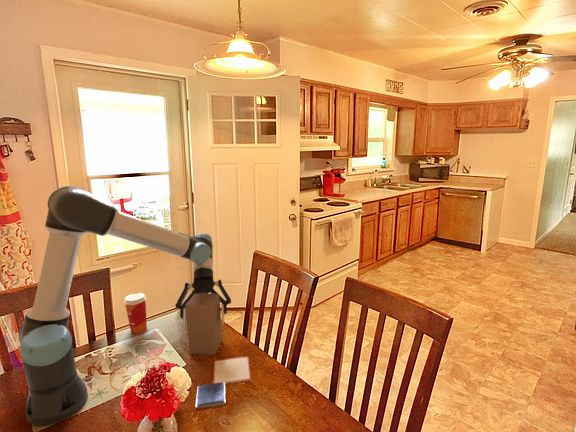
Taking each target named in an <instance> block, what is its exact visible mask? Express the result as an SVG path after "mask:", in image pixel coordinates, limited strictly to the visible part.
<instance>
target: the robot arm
mask: <svg viewBox="0 0 576 432" xmlns="http://www.w3.org/2000/svg"><path fill="white" fill-rule="evenodd" d="M47 208H48V210H47V216H46V220H45V224H44V227H45V229H47V230H48V232H49V233H48V234H49V235H48V239H47V241H46V248H45V252H44V255H43V256H44V257H43V261H42V265H41V269H40V275H39V279H38V283H37V284H38V285H37V288H36V293H35V298H34V301H33V305H32V307H30V308H28V309H27V310H26V311H25V315H24V317H23V318H24V319H23V321H22V323H21V325H20V327H19V330H18V341H19V344H20V345H19V355H20V358H21V360H22V365H23V370H24V373H25V379H26V384H27V388H28V396H27V401H26V404H25V405H26V406H25V417H26V420H27V423H29V424H30V423H31V424H30V425H32V424H33V425H32V426H35V425H36V426H37V427H41V426H49V425H53V424H57V423H59V422H61V421H64V420H66V419H68V418H70V417H71V416H72V415H74V414H75V413H77V412H78V411H79V410H80V409H81V408H82V407H83V406H84V405H85V403H86V402H87V400H88V397H89V393H88V387H87V385H86V384H85V383H84V381H83V379H82V378H81V376H80V375H79V374H78V371H77V365H76V361H75V354H74V349H73V348H74V347H73V337H72V334H71V333H70V330H69V329H68V324H69V320H70V315H71V311H70V310H69V309H68V308H67V304H68V299H69V295H70V290H71V286H72V282H73V278H74V277H73V276H74V272H75V268H76V263H77V259H78V254H79V250H80V246H81V241H82V237H83V236H84V235H87V234H88V233H90V234H94V235H98V236H100V237H101V236H102V237H105V236H107V235H110V236H112V237H116V238H119V239H122V240H126V241H128V242H132V243H135V244H139V245H142V246H146V247H148V248H152V249H155V250H157V251H161V252H163V253H167V254H171V255H173V256H177V257H180V258H182V259H186V260H189V261H192V263H193V282H192V283H188V282H185V283H184V288H183V290H182V292H181V293H180V296H179V298H178V299H177V302H176V303H175V308H176V310H180V315H179V316H180V319H183V321H182V323H183V325H182V326H183V329H187V320H186V309H185V306H186V304H187V302H188V301H189V300H190V299H191V297H192V296H193V295H194V294H196V293H204V294H219V292H217V291H216V290H215V289H214V287H215V286H216V287H217V288H219V290H220V292H221V294H222V295H223V297H224V298H225V299H224V298H223V297H222V295H220V294H219V297H220V311H221V325H224V324H225V315H226V314H228V305H231V304H232V299H231V298H230V295H229V294H228V292H227V291H226V289H225V288H224V286H223V283H222V279H218V281H217V280H216V281H214V261H213V259H214V258H213V253H214V251H213V247H214V246H213V239H212V236H211V235H210V234H208V233H198V234H196V235H194V236H192V235H189V234H185V233H183V232H182V233H181V232H180V231H175V230H171V229H167V228H165V227H163V226H160V225H158V224H154V223H152V222H149V221H146V220H144V219H141V218H138V217H136V216H133V215H131V214H127V213H125V212H123V211H119V210H118V208H117V206H115V205H112V204H110V203H107V202H106V201H104V200H102V199H100V198H99V197H97V196H95V195H93V194H92V193H91V192H89V191H87V190H85V189H83V188H82V187H78V186H76V185H75V186H73V185H66V186H61V187H59V188H57V189H55V190H54V191H53V192H52V193H51V194H50V195H49V197H48V200H47ZM192 288H193V290H192V291H191V292H190V294H189V295H188V297H187V294H188V293H189V290H191V289H192Z"/></svg>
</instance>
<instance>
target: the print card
mask: <svg viewBox="0 0 576 432" xmlns="http://www.w3.org/2000/svg"><path fill="white" fill-rule="evenodd" d="M251 375H252V374H251V368H250V361H249V355H246V356H239V357H231V358H224V359H216V360H213V379H212V380H213V381H212V384H214V383H221V382H225V385H226V384H233V383H239V382H240V383H241V382H245V381H252V376H251Z"/></svg>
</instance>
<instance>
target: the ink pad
mask: <svg viewBox="0 0 576 432" xmlns="http://www.w3.org/2000/svg"><path fill="white" fill-rule="evenodd" d="M226 401H227V400H226V384H225V382H221V383H214V384H213V383H209V384H207V383H206V384H201V385H198V386H197V389H196V398H195V409H196V410H198V409H197V408H200V409H205V408H211V407H217V406H218V407H219V406H225V405H226Z"/></svg>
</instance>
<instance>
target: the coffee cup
mask: <svg viewBox="0 0 576 432" xmlns="http://www.w3.org/2000/svg"><path fill="white" fill-rule="evenodd" d="M146 300H147V297H146V296H145V294H144V293H143V292H138V293H137V292H136V293H131V294H128V295H127V296H125V297H124V301H123V303H124V306H125V309H126V313H127V319H128V323H129V329H130V332H131V334H133V335H140V334H143V333H144V332H146V331H147V327H148V326H147V325H148V324H147V306H146Z"/></svg>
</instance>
